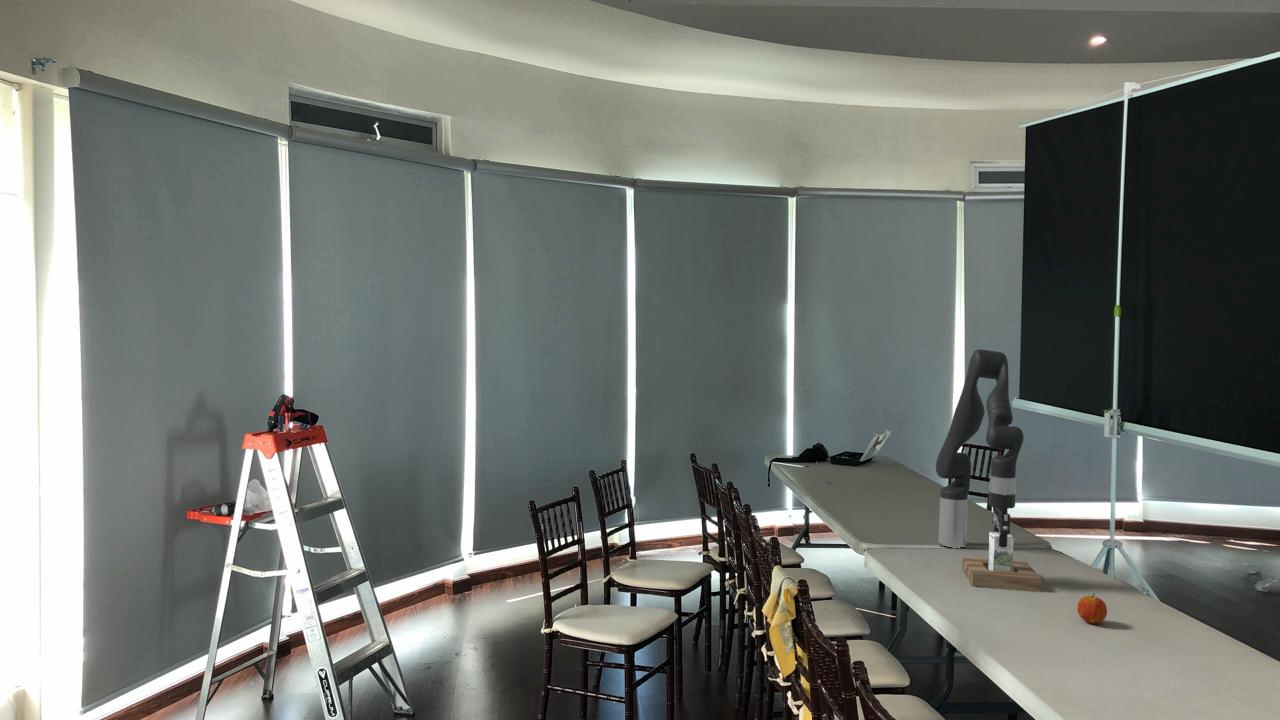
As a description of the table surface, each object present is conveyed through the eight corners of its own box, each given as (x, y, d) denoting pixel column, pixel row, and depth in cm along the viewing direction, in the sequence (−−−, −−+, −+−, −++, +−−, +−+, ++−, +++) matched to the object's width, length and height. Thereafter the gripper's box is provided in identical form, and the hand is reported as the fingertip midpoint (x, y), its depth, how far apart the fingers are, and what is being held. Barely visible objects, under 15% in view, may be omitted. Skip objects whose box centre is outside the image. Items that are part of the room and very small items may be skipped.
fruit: (1070, 619, 232) (1071, 590, 232) (1090, 617, 235) (1091, 587, 235) (1092, 628, 226) (1093, 597, 226) (1112, 625, 228) (1113, 595, 228)
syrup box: (1006, 578, 271) (1008, 531, 271) (1012, 583, 265) (1013, 536, 265) (987, 577, 272) (988, 530, 272) (992, 582, 266) (994, 535, 266)
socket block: (962, 569, 280) (962, 557, 280) (1025, 574, 276) (1026, 561, 276) (972, 586, 262) (972, 573, 261) (1040, 591, 258) (1040, 578, 258)
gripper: (985, 486, 276) (983, 537, 276) (993, 494, 262) (991, 548, 262) (1010, 487, 274) (1008, 538, 275) (1020, 496, 260) (1018, 550, 261)
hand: (1000, 543), depth 269 cm, fingers open, 8 cm apart
